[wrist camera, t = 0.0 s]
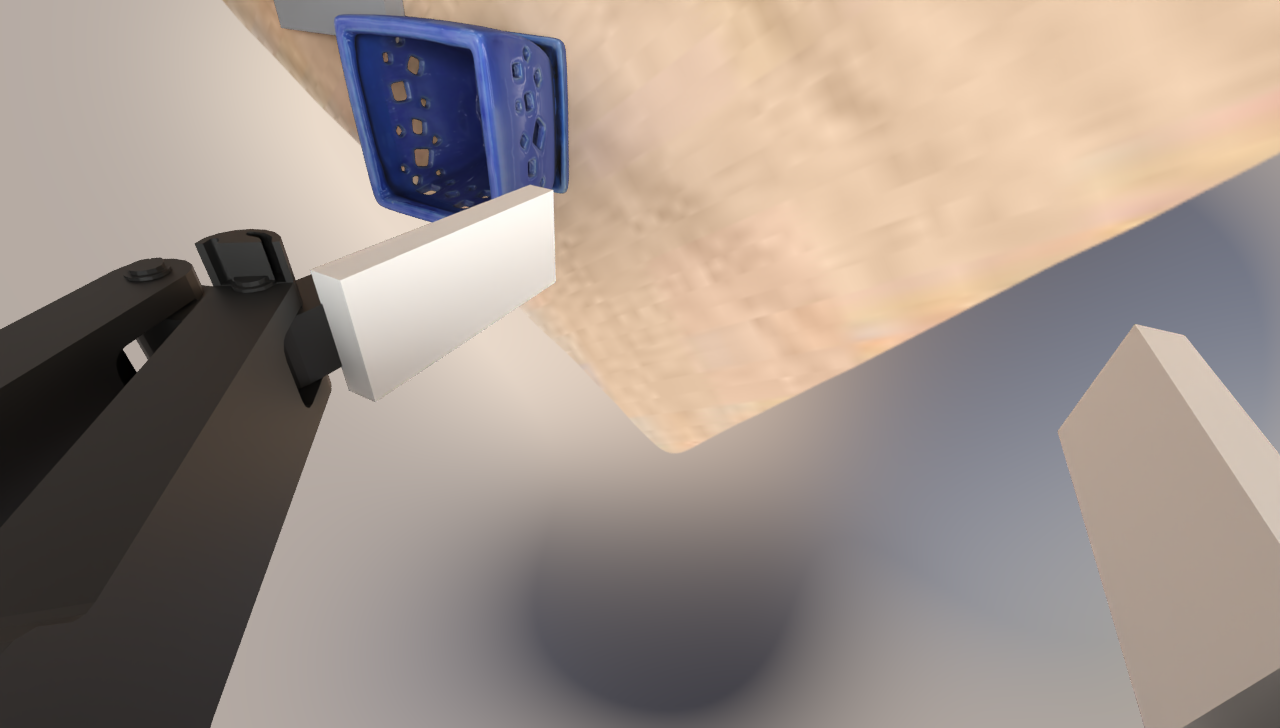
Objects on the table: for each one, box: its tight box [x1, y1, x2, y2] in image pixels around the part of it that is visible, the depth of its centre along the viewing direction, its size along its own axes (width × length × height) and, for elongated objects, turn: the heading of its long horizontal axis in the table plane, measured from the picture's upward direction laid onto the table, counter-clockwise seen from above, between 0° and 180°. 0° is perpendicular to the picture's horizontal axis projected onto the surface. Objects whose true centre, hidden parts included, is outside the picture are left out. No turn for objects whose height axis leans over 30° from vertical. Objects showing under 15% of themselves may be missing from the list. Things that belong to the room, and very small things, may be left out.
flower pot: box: [334, 14, 569, 222], centre depth 40 cm, size 13×13×12 cm
